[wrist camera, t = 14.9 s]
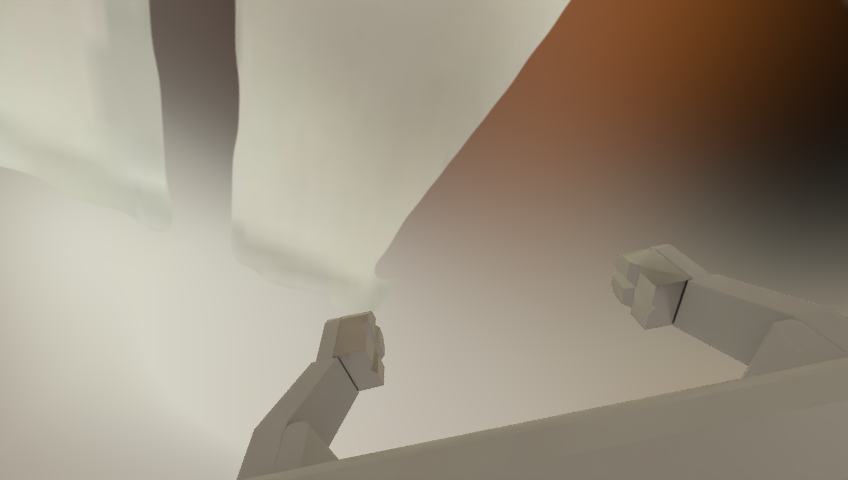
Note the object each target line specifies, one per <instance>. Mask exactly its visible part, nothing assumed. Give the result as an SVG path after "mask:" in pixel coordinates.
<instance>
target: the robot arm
mask: <svg viewBox="0 0 848 480" xmlns="http://www.w3.org/2000/svg"><path fill="white" fill-rule="evenodd" d="M614 266H615V267H616V268H617V269H618V270H617V271H616V272H615V273H614V275H613V276H612V287H613V291H614V293H615V295H616V297H617V298H618V299H619V301H620V302H621V303H622V304H624V305H627V306H629V307H631V315H632V316H633V317H634V318H635V319H636V320H637V321H638V323H639V324H640V325H641V326H642V327H643V328H644V329H645V330H646V329H652V328H657V327H663V326H668V325H673V324H674V325H673V326H674V327H676V328H678V329H680V330H682V331H684V332H686V333H688V334H690V335H691V336H693V337H695V338H697V339H699V340H701V341H703V342H705V343H706V344H708V345H710V346H712V347H714V348H716V349H718V350H720V351H721V352H723V353H725V354H727V355H729V356H731V357H733V358H735V359H736V360H739V361H740V362H742V363H744V364H746V365H748V367H747V369H746V371H745V372H744V374H743V376H742V378H741V379H736V380H731V381H726V382H721V383H716V384H711V385H706V386H701V387H696V388H692V389H686V390H681V391H676V392H671V393H666V394H661V395H657V396H651V397H647V398H642V399H637V400H632V401H627V402H622V403H617V404H612V405H607V406H602V407H597V408H592V409H588V410H582V411H577V412H572V413H567V414H563V415H558V416H553V417H548V418H543V419H538V420H533V421H528V422H523V423H519V424H513V425H509V426H503V427H499V428H494V429H489V430H484V431H479V432H474V433H469V434H464V435H459V436H454V437H450V438H444V439H439V440H434V441H429V442H425V443H419V444H415V445H410V446H405V447H400V448H395V449H390V450H385V451H380V452H375V453H370V454H365V455H360V456H355V457H350V458H345V459H340V460H339V459H338V458H337V457H336V456H335V455H334V454H333V452H332V451H331V450H330V449H329V445H330V444H331V442H332V440H333V438H334V436H335V435H336V433H337V431H338V429H339V427H340V426H341V424H342V422H343V420H344V418H345V417H346V415H347V413H348V411H349V409H350V408H351V406H352V404H353V402H354V400H355V399H356V397H357V395H358V393H359V392H358V391H362V390H366V389H370V388H374V387H378V386H382V385H384V365H383V363H382V361H381V359H382V358H383V356H384V353H385V351H384V350H385V347H384V339H383V335H382V332H381V330H380V328H379V327H378V326H376V325H375V320H376V319H375V316H374V314H373V312H371V311H369V312H364V313H359V314H353V315H348V316H344V317H341V318H335V319H330V320H327V322H326V323H325V326H324V330H323V334H322V338H321V343H320V347H319V351H318V355H317V360H316V362H313V363H311V364H310V365H309V367H308V368H307V369H306V370H305V371H304V372H303V373H302V375H301V376H300V377H299V378H298V379H297V380H296V382H295V383H294V384H293V385H292V386H291V388H290V389H289V390H288V391H287V392H286V393H285V394H284V396H283V397H282V398H281V399H280V400H279V401H278V403H277V404H276V405H275V406H274V407H273V408H272V410H271V411H270V412H269V413H268V414H267V415H266V417H265V418H264V419H263V420H262V421H261V422H260V424H259V425H258V426H257V427H256V428H255V429H254V432H253V435H252V438H251V441H250V443H249V446H248V449H247V452H246V455H245V457H244V460H243V463H242V466H241V469H240V471H239V474H238V478H237V480H848V318H847V317H846V316H844V315H842V314H841V313H839V312H837V311H836V310H834V309H832V308H829V307H825V306H822V305H818V304H815V303H812V302H808V301H805V300H801V299H798V298H795V297H792V296H788V295H785V294H781V293H778V292H775V291H771V290H768V289H764V288H761V287H758V286H754V285H751V284H747V283H745V282H741V281H738V280H734V279H731V278H728V277H724V276H721V275H718V274H716V275H710V274H709V273H708V272H706V271H705V270H704V269H702V268H701V267H700V266H698V265H697V264H695V263H694V262H693V261H691V260H690V259H689V258H688V257H686V256H685V255H683V254H682V253H681V252H679V251H678V250H677V249H675V248H674V247H672V246H671V245H667V244H664V245H660V246H656V247H652V248H649V249H643V250H639V251H635V252H631V253H627V254H622V255H618V256H617V257H616V259H615V262H614Z"/></svg>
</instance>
